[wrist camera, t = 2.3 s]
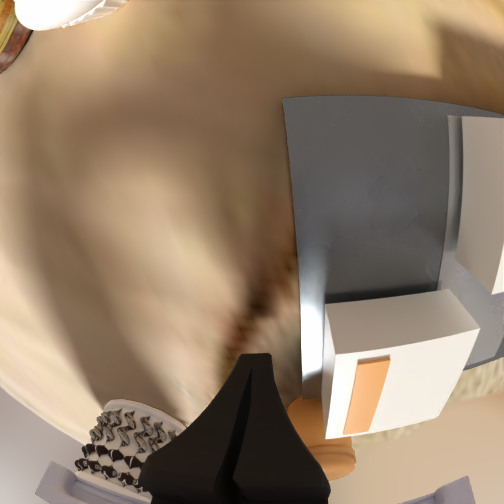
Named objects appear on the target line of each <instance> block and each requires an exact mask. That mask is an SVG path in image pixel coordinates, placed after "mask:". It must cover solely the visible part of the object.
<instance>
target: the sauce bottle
mask: <svg viewBox="0 0 504 504" xmlns="http://www.w3.org/2000/svg"><path fill="white" fill-rule="evenodd" d="M30 32H31V29H29V28H26V27H25V26H23V25H22V24H21V23H20V22H19V20H18V19H17V17H16V13H15V2H14V0H0V74H1V73H2V72H3V71H5V70H6V69H7V68H8V67H9V66H10V65H11V64H12V63H13V62H14V60H15V59H16V58H17V56H18V54H19V53H20V51H21V49H22V47H23V46H24V44H25V42H26V40H27V38H28V36H29V34H30Z"/></svg>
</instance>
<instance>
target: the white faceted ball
mask: <svg viewBox="0 0 504 504" xmlns="http://www.w3.org/2000/svg"><path fill="white" fill-rule="evenodd" d="M14 2H15V13H16V17H17V19H18V20H19V22H20V23H21V24H22V25H23V26H25V27H26V28H29V29H31V30H37V31H41V30H49V29H53V28H59V27H62V28H65V27H68V26H72V25H76V24H79V23H82V22H85V21H89V20H93V19H96V18H100V17H104V16H106V15H110V14H111V13H112V12H116V11H117V9H118V8H121V7H122V6H123V5H124V4H125V3H127V2H128V0H14Z"/></svg>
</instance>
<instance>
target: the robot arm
mask: <svg viewBox="0 0 504 504" xmlns="http://www.w3.org/2000/svg"><path fill="white" fill-rule="evenodd" d="M138 483H139V484H140V485H141V486H142V487H143V488H144V489H146V490H147V491H148V492H150V493H151V494H152V495H153V496H152V500H151V503H150V502H146V501H143V500H139V499H136V498H133V497H129V496H126V495H123V494H120V493H117V492H115V491H112V490H109V489H106V488H104V487H101V486H99V485H96V484H94V483H91V482H89V481H87V480H84V479H82V478H80V477H77V476H76V475H75V474H74V473H73V472H72V471H70V470H69V469H67V468H65V467H63V466H61V465H59V464H57V463H55V462H53V461H51V462H50V464H49V466H48V468H47V470H46V472H45V474H44V476H43V478H42V480H41V482H40V484H39V486H38V488H37V490H36V492H35V494H36V495H37V496H39V497H40V498H42V499H44V500H45V501H47V502H48V503H50V504H328V497H329V495H330V491H331V489H330V484H329V482H328V479H327V477H326V475H325V473H324V471H323V469H322V467H321V465H320V464H319V463H318V461H317V460H316V459H315V458H314V456H313V455H312V454H311V452H310V451H309V450H308V448H307V447H306V445H305V444H304V442H303V441H302V439H301V438H300V436H299V434H298V433H297V431H296V430H295V428H294V426H293V424H292V422H291V421H290V419H289V417H288V415H287V412H286V410H285V408H284V406H283V403H282V401H281V398H280V396H279V393H278V390H277V387H276V384H275V381H274V374H273V365H272V357H271V354H269V353H257V354H241V355H240V356H239V358H238V360H237V362H236V364H235V366H234V368H233V370H232V372H231V374H230V375H229V377H228V379H227V380H226V382H225V383H224V385H223V386H222V388H221V389H220V391H219V392H218V394H217V395H216V396H215V398H214V399H213V400H212V402H211V403H210V404H209V405H208V407H207V408H206V409H205V410H204V411H203V412H202V413H201V415H200V416H199V417H198V418H197V419H196V420H195V421H194V422H193V423H192V424H191V425H190V426H188V427H187V428H186V429H185V430H184V431H183V432H182V433H180V434H179V435H178V436H176V437H175V438H174V439H173V440H171V441H170V442H169V443H167V444H166V445H164V446H163V447H161V448H160V449H158V450H156V451H155V452H153V453H152V454H150V455H148V456H147V458H146V460H145V462H144V464H143V466H142V469H141V472H140V475H139V477H138ZM399 504H475V500H474V496H473V492H472V488H471V484H470V481H469V478H468V476H465V477H463V478H460V479H458V480H455V481H453V482H451V483H448V484H446V485H444V486H442V487H440V488H438V489H437V490H436V491H435V492H434V493H431V494H428V495H425V496H422V497H419V498H416V499H413V500H410V501H406V502H403V503H399Z"/></svg>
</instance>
